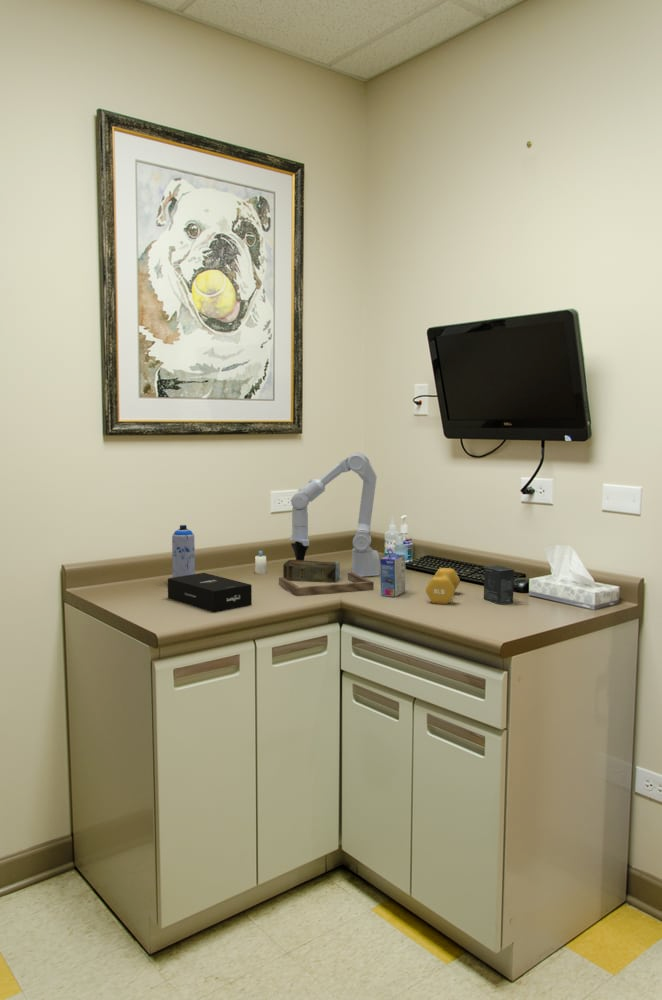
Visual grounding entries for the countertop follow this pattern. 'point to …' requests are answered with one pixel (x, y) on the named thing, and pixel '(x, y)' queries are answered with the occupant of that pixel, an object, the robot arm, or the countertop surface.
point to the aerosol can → (183, 552)
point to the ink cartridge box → (392, 574)
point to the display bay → (329, 586)
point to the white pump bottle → (260, 563)
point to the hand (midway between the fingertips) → (299, 562)
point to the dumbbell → (442, 586)
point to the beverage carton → (311, 571)
